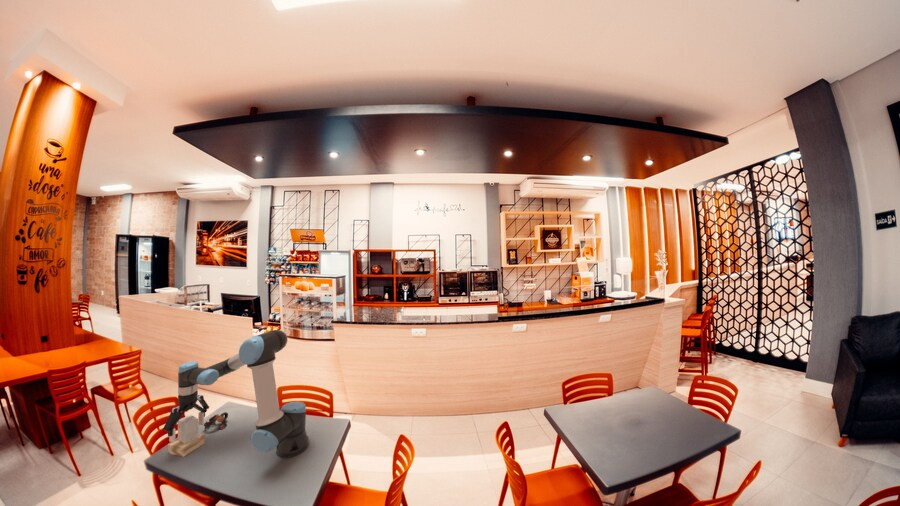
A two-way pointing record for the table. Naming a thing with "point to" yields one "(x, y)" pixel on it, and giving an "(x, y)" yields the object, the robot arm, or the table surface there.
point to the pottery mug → (218, 418)
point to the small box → (187, 429)
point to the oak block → (185, 446)
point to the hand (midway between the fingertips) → (187, 432)
